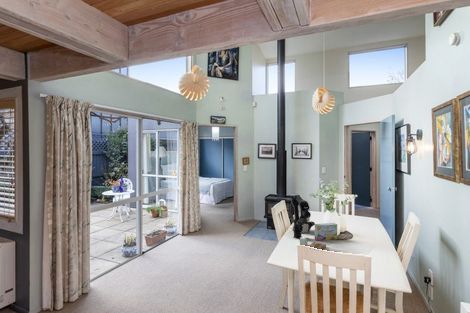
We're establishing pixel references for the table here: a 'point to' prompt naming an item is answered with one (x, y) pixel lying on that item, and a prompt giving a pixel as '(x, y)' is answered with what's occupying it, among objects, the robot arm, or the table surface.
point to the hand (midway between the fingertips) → (303, 231)
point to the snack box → (325, 231)
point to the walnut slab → (318, 245)
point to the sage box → (303, 241)
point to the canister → (304, 225)
